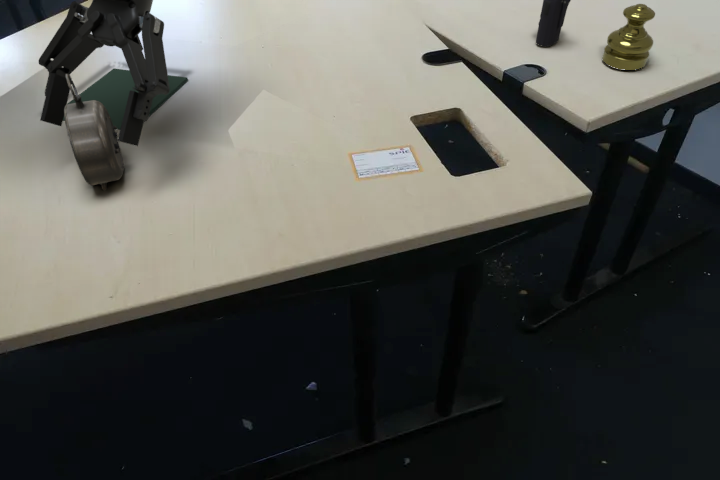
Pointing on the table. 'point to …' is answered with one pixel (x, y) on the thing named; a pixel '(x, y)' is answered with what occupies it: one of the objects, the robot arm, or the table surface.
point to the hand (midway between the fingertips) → (88, 133)
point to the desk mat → (123, 93)
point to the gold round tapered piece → (630, 40)
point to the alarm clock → (93, 140)
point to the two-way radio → (551, 21)
